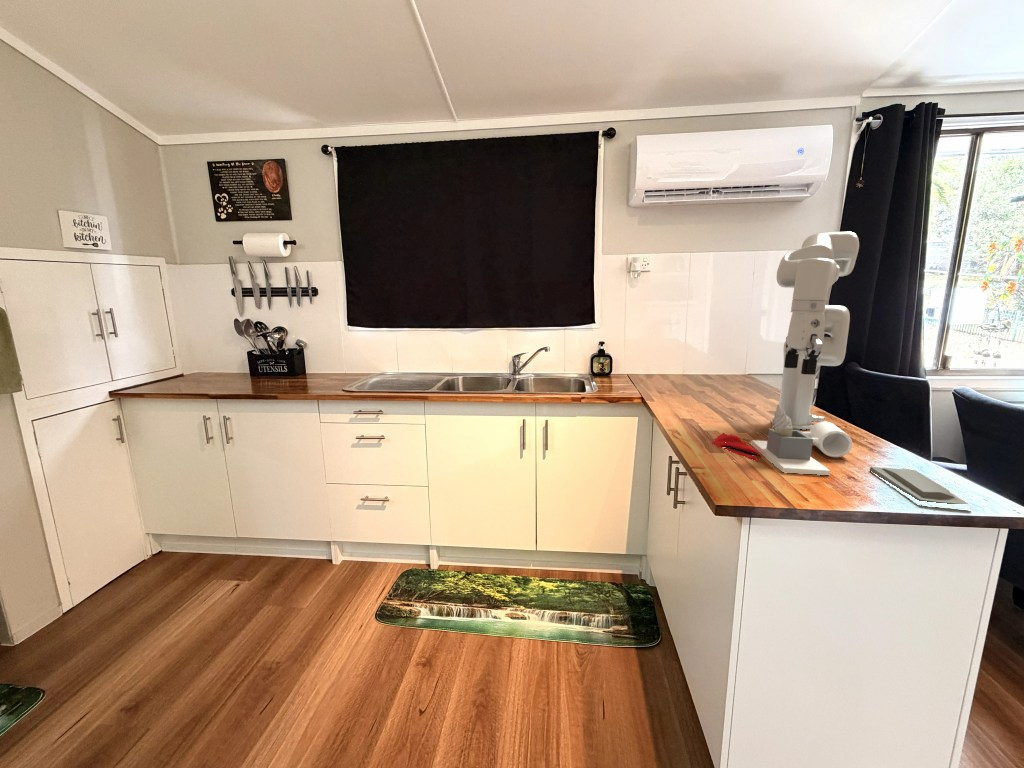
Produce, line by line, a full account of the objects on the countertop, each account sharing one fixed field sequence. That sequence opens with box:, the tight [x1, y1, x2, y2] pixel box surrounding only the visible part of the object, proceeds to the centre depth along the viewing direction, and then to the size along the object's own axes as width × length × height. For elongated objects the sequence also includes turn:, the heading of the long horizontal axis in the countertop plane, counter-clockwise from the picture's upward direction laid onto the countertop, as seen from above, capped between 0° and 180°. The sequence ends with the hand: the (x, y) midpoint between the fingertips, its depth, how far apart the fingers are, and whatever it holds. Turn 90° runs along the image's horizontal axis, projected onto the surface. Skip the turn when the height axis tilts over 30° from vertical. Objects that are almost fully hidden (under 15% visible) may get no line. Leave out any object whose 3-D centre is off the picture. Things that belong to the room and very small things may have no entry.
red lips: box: [711, 432, 762, 462], centre depth 136 cm, size 26×14×2 cm, turn 163°
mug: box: [802, 421, 853, 458], centre depth 131 cm, size 12×10×8 cm
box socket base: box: [750, 428, 831, 476], centre depth 124 cm, size 11×22×8 cm, turn 172°
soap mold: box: [869, 466, 969, 504], centre depth 106 cm, size 10×20×4 cm, turn 166°
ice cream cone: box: [771, 403, 794, 437], centre depth 124 cm, size 5×5×15 cm
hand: (798, 370), depth 120 cm, fingers open, 9 cm apart
